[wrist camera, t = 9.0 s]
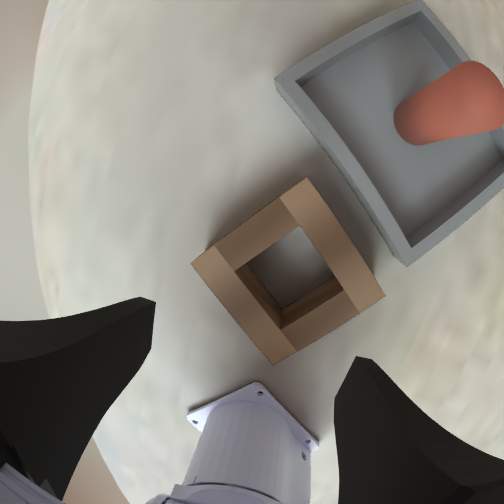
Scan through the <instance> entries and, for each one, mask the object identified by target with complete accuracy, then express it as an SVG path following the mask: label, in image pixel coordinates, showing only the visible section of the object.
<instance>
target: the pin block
mask: <svg viewBox="0 0 504 504" xmlns="http://www.w3.org/2000/svg"><path fill="white" fill-rule="evenodd" d="M299 225H300V227H301V228H302V229H303V231H304V232H305V234H306V235H307V236H308V238H309V239H310V241H311V242H312V243H313V245H314V246H315V248H316V249H317V251H318V252H319V253H320V255H321V256H322V258H323V259H324V261H325V262H326V264H327V265H328V266H329V268H330V269H331V271H332V272H333V274H334V276H333V277H331V278H330V279H328V280H327V281H325V282H324V283H322V284H321V285H319V286H318V287H316V288H315V289H313V290H312V291H310V292H309V293H307V294H306V295H304V296H303V297H301V298H299V299H298V300H296V301H295V302H293V303H292V304H290V305H289V306H287V307H285V308H284V309H281V307H280V306H279V305H278V304H277V302H276V301H275V300H274V298H273V297H272V296H271V294H270V293H269V292H268V291H267V289H266V288H265V287H264V285H263V284H262V283H261V281H260V280H259V279H258V277H257V276H256V275H255V273H254V272H253V271H252V270H251V268H250V267H249V266H248V264H247V262H248V261H250V260H251V259H252V258H254V257H255V256H257V255H258V254H260V253H261V252H262V251H264V250H265V249H267V248H268V247H270V246H271V245H272V244H274V243H275V242H277V241H278V240H279V239H281V238H282V237H284V236H285V235H287V234H288V233H289V232H291V231H292V230H294V229H295V228H296V227H298V226H299ZM190 264H191V265H192V266H193V268H194V269H195V270H196V271H197V273H198V274H199V275H200V277H201V278H202V279H203V280H204V282H205V283H206V284H207V286H208V287H209V288H210V289H211V291H212V292H213V293H214V294H215V296H216V297H217V298H218V299H219V301H220V302H221V303H222V304H223V306H224V307H225V308H226V309H227V311H228V312H229V313H230V314H231V316H232V317H233V318H234V319H235V321H236V322H237V323H238V324H239V325H240V327H241V328H242V329H243V330H244V331H245V333H246V334H247V335H248V336H249V338H250V339H251V340H252V341H253V342H254V343H255V345H256V346H257V347H258V348H259V349H260V351H261V352H262V353H263V354H264V355H265V356H266V358H267V359H268V360H269V361H270V362H271V364H272V365H274V364H276V363H277V362H279V361H281V360H283V359H285V358H287V357H288V356H290V355H292V354H294V353H295V352H297V351H299V350H301V349H302V348H304V347H306V346H308V345H309V344H311V343H313V342H314V341H316V340H318V339H320V338H321V337H323V336H324V335H326V334H328V333H329V332H331V331H333V330H334V329H336V328H338V327H339V326H341V325H342V324H344V323H346V322H347V321H349V320H350V319H352V318H353V317H355V316H356V315H358V314H360V313H361V312H363V311H364V310H366V309H367V308H369V307H370V306H372V305H373V304H375V303H376V302H378V301H379V300H381V299H382V298H383V297H385V294H384V293H383V291H382V289H381V287H380V286H379V284H378V283H377V281H376V279H375V278H374V276H373V274H372V273H371V271H370V270H369V268H368V266H367V265H366V263H365V262H364V260H363V258H362V257H361V255H360V254H359V252H358V251H357V249H356V247H355V246H354V244H353V243H352V241H351V240H350V238H349V237H348V235H347V234H346V232H345V231H344V229H343V228H342V226H341V225H340V223H339V222H338V220H337V219H336V217H335V216H334V214H333V213H332V212H331V210H330V209H329V207H328V206H327V204H326V203H325V201H324V200H323V199H322V197H321V196H320V194H319V193H318V192H317V190H316V189H315V187H314V186H313V185H312V183H311V182H310V180H309V179H308V178H307V177H305V178H303V179H302V180H301V181H299V182H298V183H296V184H295V185H294V186H292V187H291V188H290V189H288V190H287V191H285V192H284V193H283V194H281V195H280V196H278V197H277V198H276V199H274V200H273V201H272V202H270V203H269V204H267V205H266V206H265V207H263V208H262V209H261V210H259V211H258V212H257V213H255V214H254V215H253V216H251V217H250V218H248V219H247V220H246V221H244V222H243V223H242V224H240V225H239V226H238V227H236V228H235V229H234V230H232V231H231V232H230V233H228V234H227V235H226V236H224V237H223V238H222V239H220V240H219V241H218V242H216V243H215V244H214V245H212V246H211V247H210V248H208V249H207V250H206V251H204V252H203V253H202V254H201V255H200V256H199V257H197V258H196V259H195V260H194V261H193V262H192V263H190Z"/></svg>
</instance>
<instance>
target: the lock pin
mask: <svg viewBox="0 0 504 504" xmlns="http://www.w3.org/2000/svg"><path fill="white" fill-rule="evenodd" d="M503 124H504V88H503V86H502V84H501V83H500V81H499V79H498V78H497V77H496V75H495V74H494V73H493V72H492V71H491V70H490V69H489V68H487V67H486V66H484V65H483V64H481V63H479V62H475V61H465V62H462V63H461V64H459V65H458V66H456V67H455V68H453V69H451V70H450V71H448V72H447V73H445V74H444V75H442V76H441V77H439V78H438V79H436V80H435V81H433V82H432V83H430V84H429V85H427V86H426V87H424V88H422V89H421V90H419V91H418V92H417V93H415V94H414V95H412V96H411V97H409V98H408V99H406V100H405V101H403V102H402V103H400V104H399V105H398V106H397V108H396V110H395V112H394V125H395V128H396V130H397V132H398V134H399V135H400V137H401V138H402V139H403V140H405V141H406V142H408V143H409V144H412V145H416V146H421V145H425V144H430V143H434V142H439V141H443V140H448V139H452V138H457V137H462V136H467V135H472V134H477V133H482V132H487V131H492V130H496V129H499V128H500V127H501V126H502V125H503Z"/></svg>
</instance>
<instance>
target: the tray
mask: <svg viewBox="0 0 504 504" xmlns="http://www.w3.org/2000/svg"><path fill="white" fill-rule="evenodd" d="M465 61H471V60H470V58H469V57H468V56H467V54H466V53H465V52H464V50H463V49H462V48H461V46H460V45H459V44H458V42H457V41H456V40H455V38H454V37H453V36H452V35H451V33H450V32H449V31H448V30H447V28H446V27H445V26H444V25H443V24H442V22H441V21H440V20H439V19H438V18H437V17H436V16H435V14H434V13H433V12H432V11H431V10H430V9H429V8H428V7H427V6H426V5H425V3H424V2H423V1H422V0H415V1H412V2H410V3H408V4H405V5H403V6H401V7H399V8H397V9H394V10H392V11H390V12H388V13H386V14H384V15H382V16H380V17H378V18H376V19H374V20H372V21H370V22H368V23H366V24H364V25H362V26H360V27H358V28H356V29H354V30H352V31H351V32H349V33H347V34H345V35H343V36H341V37H340V38H338V39H336V40H334V41H333V42H331V43H329V44H327V45H326V46H324V47H322V48H321V49H319V50H317V51H316V52H314V53H312V54H311V55H309V56H307V57H306V58H304V59H303V60H301V61H299V62H298V63H296V64H295V65H293V66H292V67H290V68H289V69H287V70H286V71H284V72H283V73H281V74H279V75H278V76H277V77H275V78H274V80H275V85H276V90H277V91H278V93H279V94H280V95H281V96H282V97H283V98H284V100H285V101H286V102H287V103H288V104H289V106H290V107H291V108H292V109H293V111H294V112H295V113H296V114H297V115H298V117H299V118H300V119H301V120H302V122H303V123H304V124H305V126H306V127H307V128H308V129H309V131H310V132H311V133H312V135H313V136H314V137H315V138H316V140H317V141H318V142H319V144H320V145H321V146H322V148H323V149H324V150H325V152H326V153H327V154H328V156H329V157H330V159H331V160H332V161H333V163H334V164H335V166H336V167H337V168H338V170H339V171H340V173H341V174H342V175H343V177H344V178H345V180H346V181H347V183H348V184H349V186H350V187H351V188H352V190H353V191H354V193H355V194H356V196H357V197H358V199H359V200H360V202H361V203H362V205H363V207H364V208H365V210H366V211H367V213H368V214H369V216H370V217H371V219H372V221H373V222H374V224H375V225H376V227H377V229H378V230H379V232H380V233H381V235H382V237H383V238H384V240H385V242H386V243H387V245H388V247H389V248H390V250H391V252H392V254H393V255H394V257H395V258H397V259H398V260H399V261H400V262H401V263H403V264H404V265H405V266H406V267H408V266H409V265H410V264H412V263H413V262H414V261H416V260H417V259H418V258H420V257H421V256H422V255H424V254H425V253H426V252H428V251H429V250H430V249H432V248H433V247H434V246H435V245H437V244H438V243H439V242H440V241H442V240H443V239H444V238H446V237H447V236H448V235H449V234H451V233H452V232H453V231H454V230H455V229H457V228H458V227H459V226H460V225H462V224H463V223H464V222H465V221H466V220H468V219H469V218H470V217H471V216H472V215H473V214H475V213H476V212H477V211H478V210H479V209H480V208H482V207H483V206H484V205H485V204H486V203H487V202H488V201H489V200H491V199H492V198H493V197H494V196H495V195H496V194H497V193H498V192H499V191H501V190H502V189H503V188H504V124H503V125H502V126H501V127H500V128H499V129H496V130H492V131H487V132H482V133H477V134H472V135H467V136H462V137H457V138H452V139H448V140H443V141H439V142H434V143H430V144H425V145H421V146H416V145H412V144H409V143H408V142H406V141H405V140H403V139H402V138H401V137H400V135H399V134H398V132H397V130H396V128H395V125H394V112H395V110H396V108H397V106H398V105H399V104H400V103H402V102H403V101H405V100H406V99H408V98H409V97H411V96H412V95H414V94H415V93H417V92H418V91H419V90H421V89H422V88H424V87H426V86H427V85H429V84H430V83H432V82H433V81H435V80H436V79H438V78H439V77H441V76H442V75H444V74H445V73H447V72H448V71H450V70H451V69H453V68H455V67H456V66H458V65H459V64H461V63H462V62H465Z"/></svg>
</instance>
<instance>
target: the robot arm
mask: <svg viewBox="0 0 504 504" xmlns="http://www.w3.org/2000/svg"><path fill="white" fill-rule="evenodd" d="M155 305H156V302H154V301H151V300H148V299H145V298H143V297H137V298H133V299H129V300H126V301H123V302H119V303H116V304H113V305H109V306H106V307H103V308H99V309H96V310H92V311H88V312H84V313H80V314H76V315H72V316H67V317H61V318H55V319H47V320H36V321H0V504H65V503H64V502H62V500H63V497H64V494H65V492H66V489H67V487H68V484H69V482H70V480H71V477H72V475H73V473H74V471H75V468H76V466H77V464H78V462H79V460H80V458H81V455H82V454H83V452H84V450H85V448H86V446H87V444H88V442H89V440H90V438H91V437H92V435H93V433H94V431H95V430H96V428H97V426H98V424H99V423H100V421H101V419H102V418H103V416H104V415H105V413H106V412H107V410H108V409H109V408H110V406H111V405H112V404H113V402H114V401H115V400H116V399H117V397H118V396H119V395H120V394H121V392H122V391H123V390H124V388H125V387H126V386H127V385H128V383H129V382H130V381H131V379H132V378H133V377H134V376H135V374H136V373H137V372H138V370H139V369H140V367H141V366H142V364H143V362H144V361H145V359H146V357H147V355H148V353H149V352H150V350H151V345H152V334H153V323H154V314H155ZM259 391H261V392H263V393H259ZM186 418H187V420H188V421H189V422H190V423H192V424H193V425H194V426H195V427H196V428H197V429H198V430H199V431H200V432H201V433H202V434H201V436H200V439H199V442H198V444H197V447H196V450H195V452H194V455H193V458H192V460H191V463H190V466H189V468H188V471H187V473H186V476H185V479H184V481H183V484H182V485H178V484H175V486H174V488H173V491H172V493H171V496H169V495H166V494H159V495H157V496H156V497H154V498H152V499H150V500H149V501H148V502H147V503H146V504H309V503H310V480H311V465H310V452H311V451H314V450H316V449H318V448H319V443H318V442H317V441H316V440H315V439H314V438H313V437H312V436H311V435H310V434H309V433H308V432H307V431H306V430H305V429H304V428H303V427H302V426H301V425H300V424H299V423H298V422H297V421H296V420H295V419H294V418H293V417H292V416H291V415H290V414H289V413H288V411H287V410H286V409H285V408H284V407H283V406H282V405H281V404H280V403H279V402H278V401H277V400H276V399H275V398H274V397H273V396H272V395H271V394H270V392H269V391H268V390H267V389H266V388H265V387H264V386H263V385H262V384H261V383H259V382H254V383H251V384H249V385H247V386H245V387H243V388H241V389H239V390H237V391H235V392H233V393H231V394H229V395H226V396H224V397H222V398H220V399H218V400H216V401H213V402H211V403H209V404H207V405H204V406H202V407H200V408H198V409H195V410H193V411H190V412H188V413H187V415H186ZM195 420H196V421H195ZM334 427H335V437H336V446H337V455H338V465H339V500H338V504H504V460H502V459H499V458H497V457H494V456H491V455H489V454H487V453H485V452H483V451H481V450H479V449H476V448H474V447H473V446H471V445H469V444H467V443H465V442H464V441H462V440H461V439H459V438H457V437H456V436H454V435H453V434H451V433H450V432H448V431H447V430H445V429H444V428H443V427H441V426H440V425H439V424H438V423H436V422H435V421H434V420H433V419H431V418H430V417H429V416H428V415H427V414H425V413H424V412H423V411H422V410H421V409H420V408H419V407H418V406H417V405H416V404H415V403H414V402H413V401H412V400H411V399H410V398H409V397H408V396H407V395H406V394H405V393H404V392H403V391H402V390H401V389H400V388H399V387H398V386H397V385H396V384H395V383H394V382H393V381H392V379H391V378H390V377H389V376H388V375H387V374H386V373H385V372H384V371H383V370H382V369H381V368H380V367H379V366H378V365H377V364H376V363H375V362H374V361H373V360H372V359H368V358H363V357H358V356H356V357H355V359H354V361H353V363H352V365H351V367H350V369H349V371H348V373H347V375H346V377H345V379H344V381H343V383H342V385H341V387H340V389H339V391H338V393H337V395H336V397H335V402H334Z"/></svg>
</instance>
